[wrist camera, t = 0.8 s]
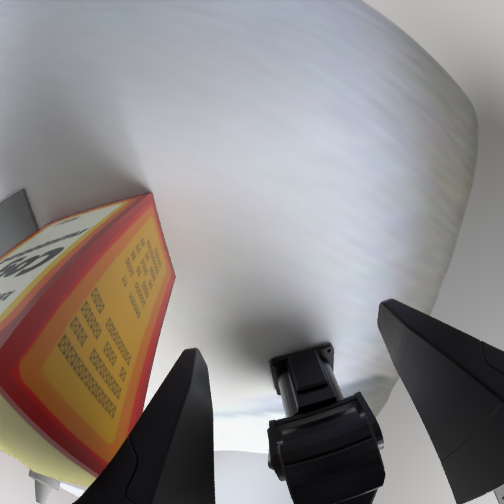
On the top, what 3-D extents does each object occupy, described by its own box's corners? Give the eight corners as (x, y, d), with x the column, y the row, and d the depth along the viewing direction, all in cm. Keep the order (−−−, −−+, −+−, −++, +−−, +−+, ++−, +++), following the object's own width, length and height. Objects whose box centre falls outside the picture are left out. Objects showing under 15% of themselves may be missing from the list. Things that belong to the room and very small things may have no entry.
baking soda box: (76, 293, 19) (-13, 449, 5) (48, 222, 17) (-94, 350, 2) (175, 277, 20) (129, 502, 5) (152, 191, 17) (-21, 380, 2)
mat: (89, 328, 21) (88, 330, 21) (5, 337, 21) (4, 339, 21) (24, 188, 15) (21, 189, 15) (-47, 239, 15) (-48, 240, 15)
